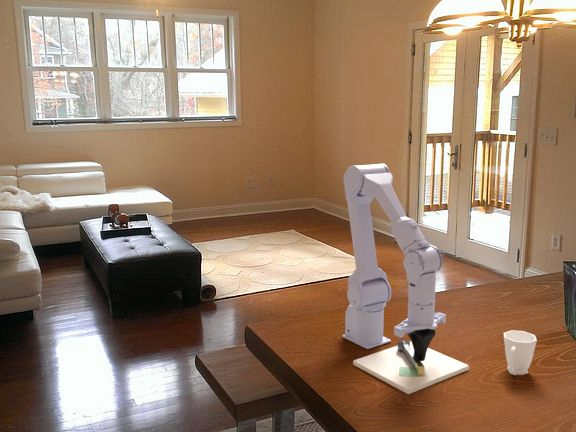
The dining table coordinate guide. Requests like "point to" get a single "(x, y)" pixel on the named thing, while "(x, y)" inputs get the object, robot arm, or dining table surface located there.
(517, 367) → the cup
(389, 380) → the board
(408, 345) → the lever
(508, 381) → the dining table surface
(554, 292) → the dining table surface
